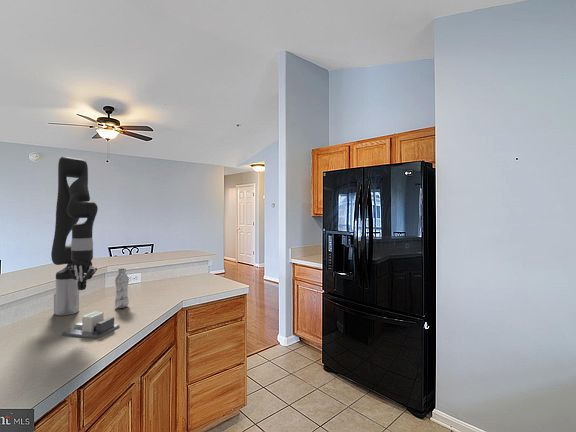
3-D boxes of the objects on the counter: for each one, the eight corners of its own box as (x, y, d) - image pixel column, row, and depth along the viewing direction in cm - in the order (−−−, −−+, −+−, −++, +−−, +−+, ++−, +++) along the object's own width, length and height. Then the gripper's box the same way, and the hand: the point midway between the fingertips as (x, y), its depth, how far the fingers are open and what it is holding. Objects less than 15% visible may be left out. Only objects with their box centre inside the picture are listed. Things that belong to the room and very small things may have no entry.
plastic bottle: (112, 310, 147) (113, 270, 146) (116, 306, 153) (117, 268, 153) (126, 309, 148) (127, 270, 148) (130, 305, 155) (130, 267, 155)
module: (82, 331, 119) (82, 316, 119) (94, 325, 125) (94, 311, 125) (91, 332, 118) (91, 317, 118) (103, 326, 124) (103, 312, 124)
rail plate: (62, 335, 117) (62, 322, 117) (87, 323, 129) (87, 312, 129) (96, 338, 114) (97, 326, 114) (119, 326, 126) (119, 315, 126)
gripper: (60, 249, 119) (60, 291, 120) (88, 250, 117) (87, 293, 117) (76, 247, 127) (76, 286, 127) (103, 248, 125) (102, 288, 125)
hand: (81, 289), depth 122 cm, fingers closed
